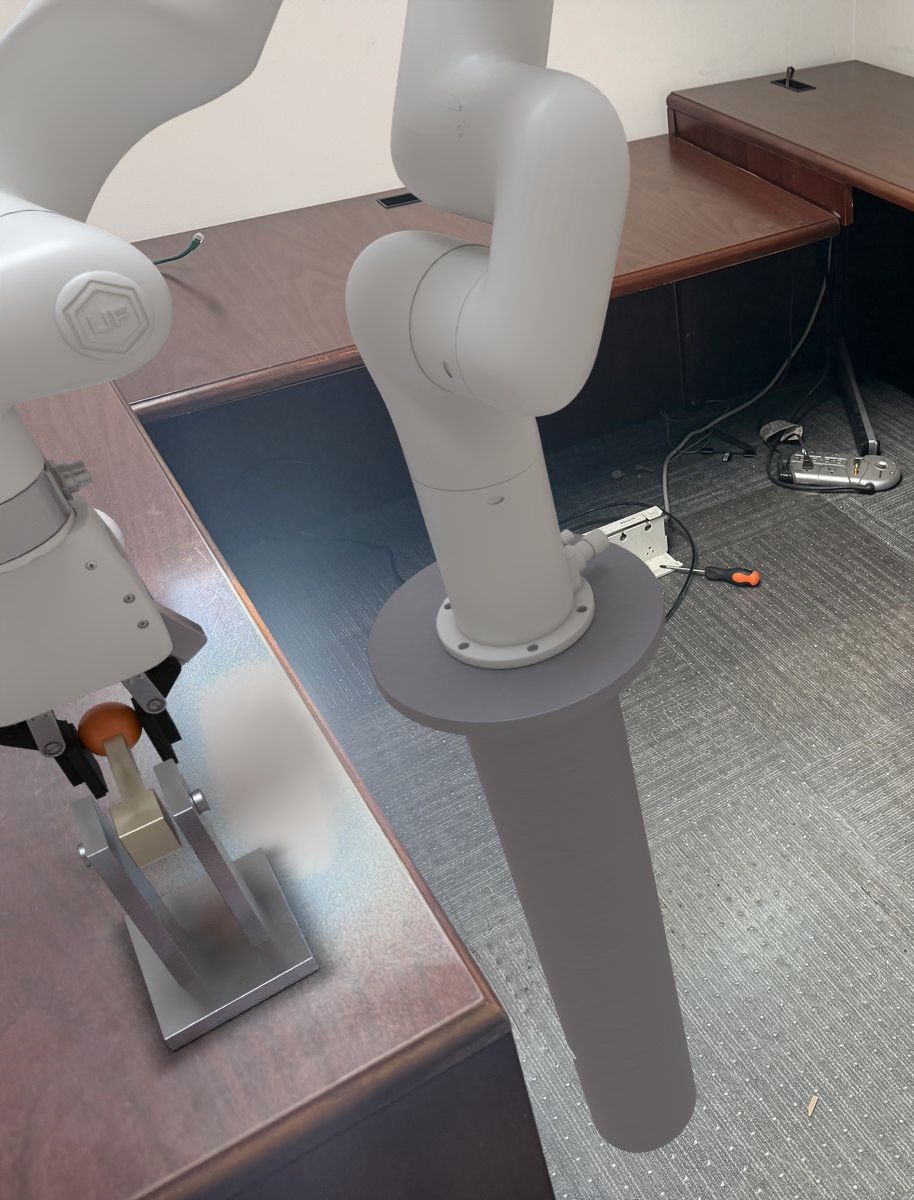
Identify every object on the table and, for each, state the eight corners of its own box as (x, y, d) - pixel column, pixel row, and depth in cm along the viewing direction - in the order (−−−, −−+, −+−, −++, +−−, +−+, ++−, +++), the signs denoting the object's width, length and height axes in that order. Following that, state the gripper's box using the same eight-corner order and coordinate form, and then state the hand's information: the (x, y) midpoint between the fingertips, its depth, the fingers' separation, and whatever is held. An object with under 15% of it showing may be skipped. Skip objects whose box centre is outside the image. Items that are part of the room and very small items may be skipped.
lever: (88, 747, 65) (63, 707, 63) (145, 722, 66) (122, 683, 64) (131, 880, 56) (103, 838, 54) (196, 848, 58) (171, 806, 56)
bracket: (131, 927, 65) (28, 785, 57) (267, 858, 69) (187, 715, 61) (173, 1052, 59) (63, 912, 51) (319, 969, 63) (239, 826, 55)
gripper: (138, 431, 60) (255, 675, 72) (-226, 545, 53) (-31, 797, 64) (172, 488, 55) (291, 739, 67) (-223, 622, 48) (-13, 879, 60)
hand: (132, 765), depth 65 cm, fingers closed on lever, 3 cm apart
